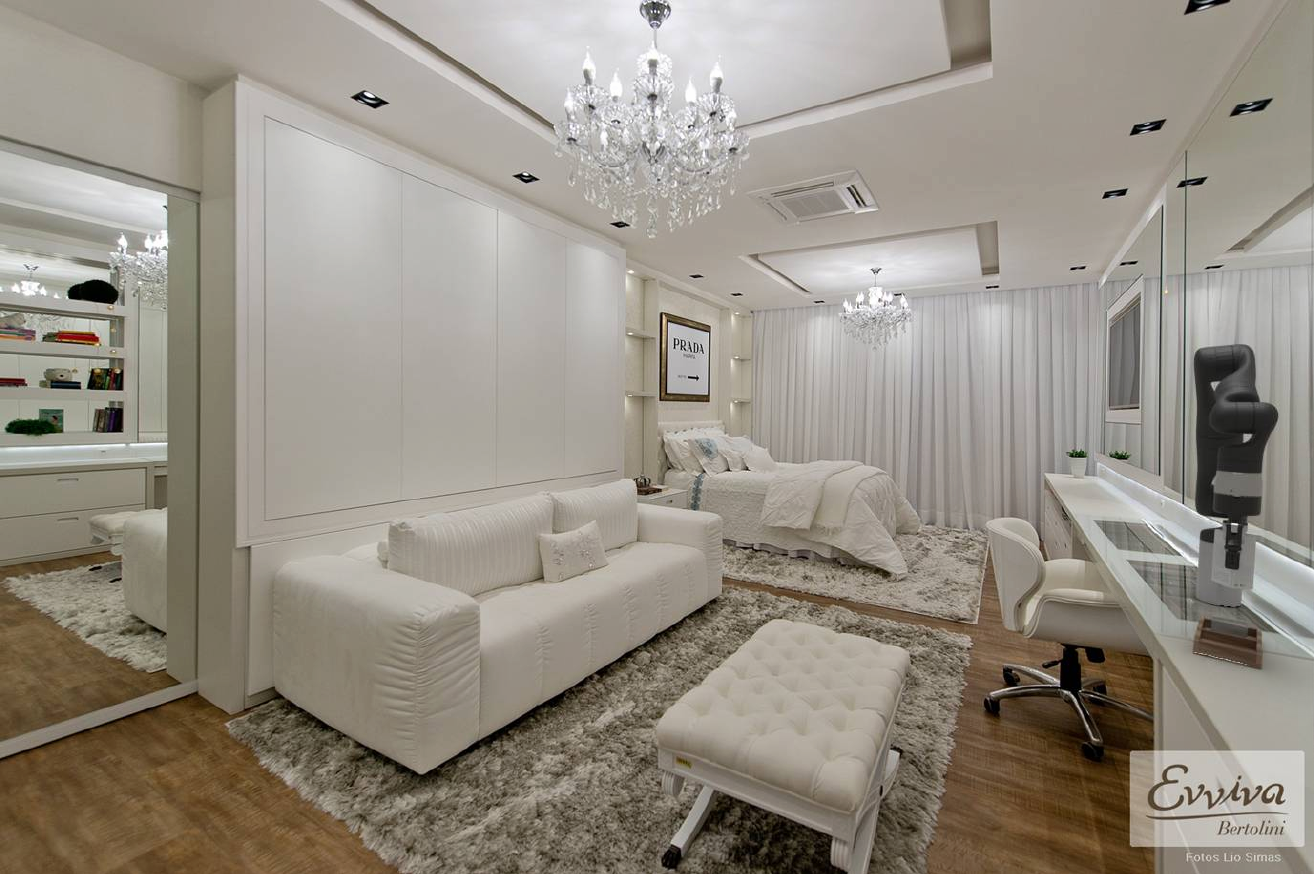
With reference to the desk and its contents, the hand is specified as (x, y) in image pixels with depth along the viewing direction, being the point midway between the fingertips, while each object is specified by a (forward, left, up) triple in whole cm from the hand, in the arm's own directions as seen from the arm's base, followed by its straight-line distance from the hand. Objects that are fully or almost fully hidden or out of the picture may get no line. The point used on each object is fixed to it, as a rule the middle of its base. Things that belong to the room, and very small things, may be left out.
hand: (1232, 565), depth 127 cm
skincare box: (0, 0, -5) cm, 5 cm away
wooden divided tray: (-5, 0, -20) cm, 21 cm away
